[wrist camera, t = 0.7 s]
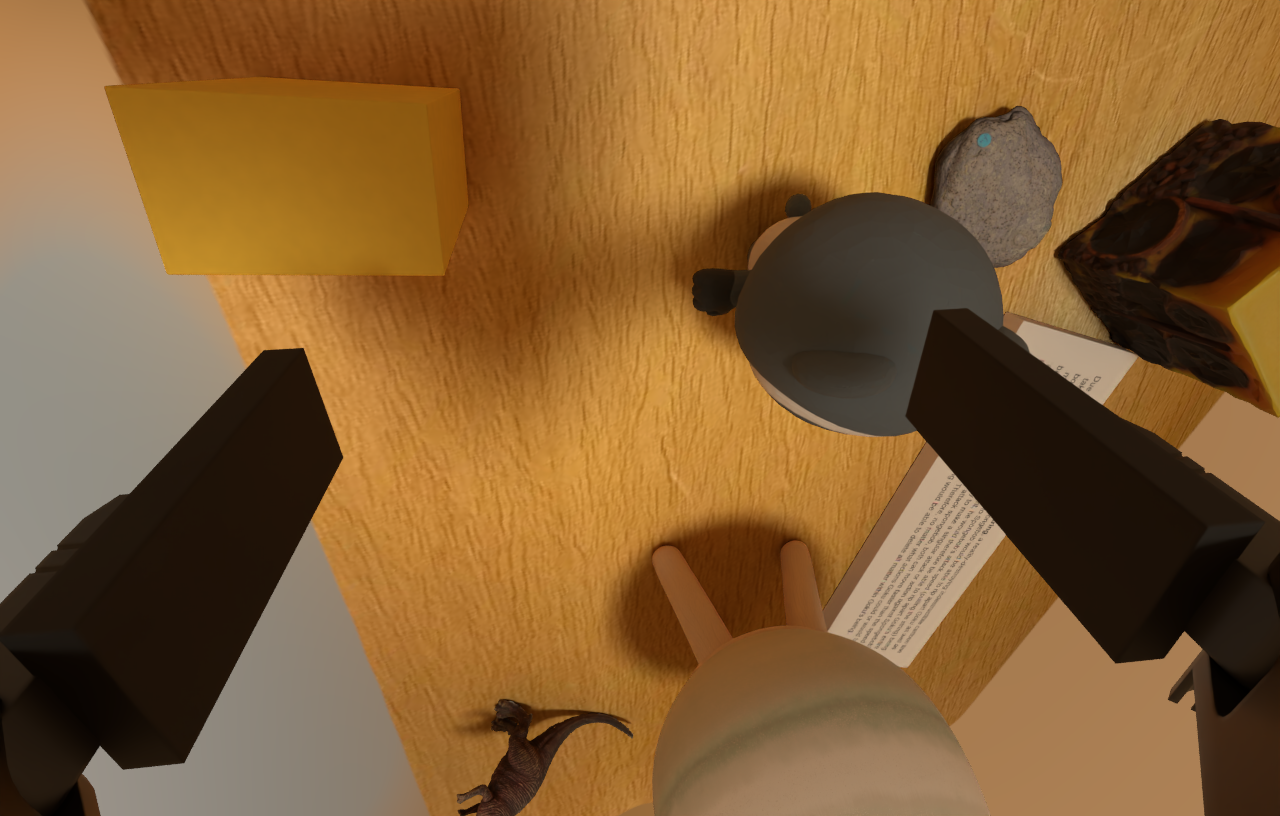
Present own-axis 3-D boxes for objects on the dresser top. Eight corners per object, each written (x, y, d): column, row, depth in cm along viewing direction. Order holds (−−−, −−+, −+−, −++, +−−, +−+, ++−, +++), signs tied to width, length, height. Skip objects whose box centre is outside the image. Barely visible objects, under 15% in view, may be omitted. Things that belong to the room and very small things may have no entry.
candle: (1051, 251, 36) (1218, 311, 27) (1208, 111, 33) (1448, 129, 24) (1113, 349, 40) (1273, 427, 32) (1255, 233, 37) (1472, 284, 29)
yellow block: (259, 76, 25) (102, 86, 15) (459, 88, 26) (426, 103, 17) (287, 201, 27) (166, 275, 18) (469, 206, 29) (444, 276, 19)
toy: (673, 359, 35) (763, 532, 22) (668, 168, 29) (782, 250, 17) (860, 336, 36) (1047, 485, 23) (887, 150, 31) (1148, 212, 18)
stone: (923, 279, 35) (946, 292, 33) (923, 129, 31) (950, 134, 29) (1034, 244, 35) (1063, 255, 33) (1050, 90, 31) (1085, 92, 29)
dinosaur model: (447, 880, 36) (674, 850, 41) (454, 697, 46) (637, 691, 51) (439, 909, 38) (656, 877, 43) (447, 727, 48) (625, 719, 53)
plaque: (1023, 320, 36) (1139, 355, 39) (1006, 311, 37) (1119, 345, 40) (808, 660, 49) (907, 667, 52) (801, 645, 50) (898, 653, 53)
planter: (862, 509, 44) (1131, 858, 24) (770, 658, 50) (924, 1021, 31) (658, 472, 39) (795, 871, 20) (587, 642, 45) (636, 1061, 26)
